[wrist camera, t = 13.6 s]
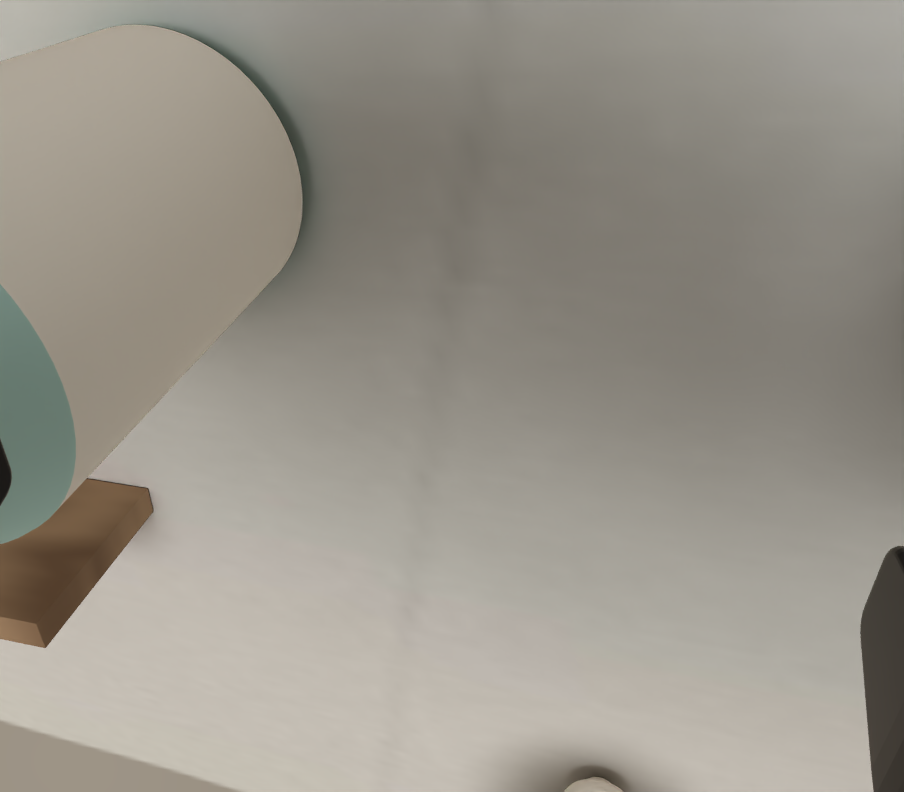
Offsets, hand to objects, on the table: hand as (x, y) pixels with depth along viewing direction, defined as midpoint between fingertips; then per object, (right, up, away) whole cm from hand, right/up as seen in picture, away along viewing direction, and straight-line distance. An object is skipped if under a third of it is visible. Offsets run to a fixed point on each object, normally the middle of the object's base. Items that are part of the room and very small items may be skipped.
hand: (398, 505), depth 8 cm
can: (-6, +7, +13) cm, 16 cm away
